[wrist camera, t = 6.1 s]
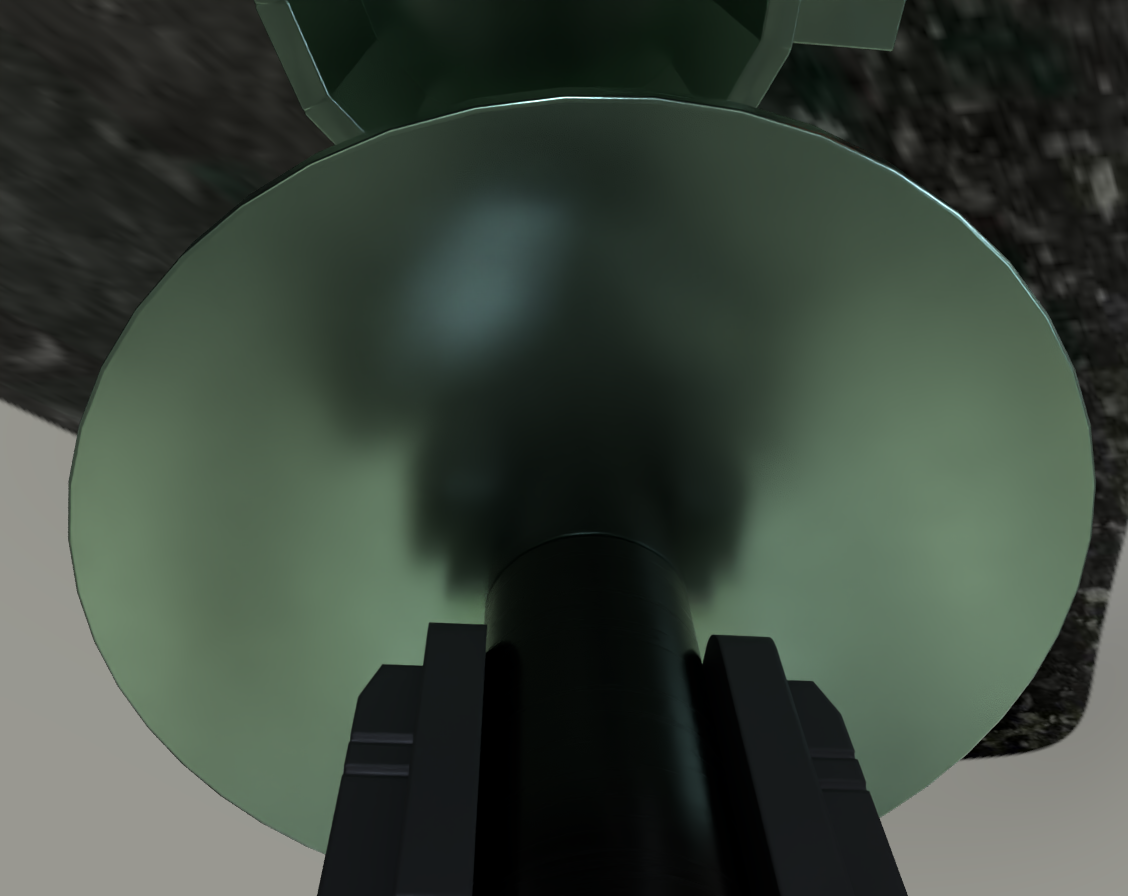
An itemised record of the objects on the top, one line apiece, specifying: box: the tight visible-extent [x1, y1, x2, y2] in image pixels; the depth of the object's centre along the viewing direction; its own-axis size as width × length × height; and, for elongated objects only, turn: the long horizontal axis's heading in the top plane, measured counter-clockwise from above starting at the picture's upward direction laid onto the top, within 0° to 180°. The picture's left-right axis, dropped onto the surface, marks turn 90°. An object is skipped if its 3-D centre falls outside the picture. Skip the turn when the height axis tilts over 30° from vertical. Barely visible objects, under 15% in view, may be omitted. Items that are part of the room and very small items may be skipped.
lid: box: [68, 87, 1096, 896], centre depth 11 cm, size 14×14×7 cm
